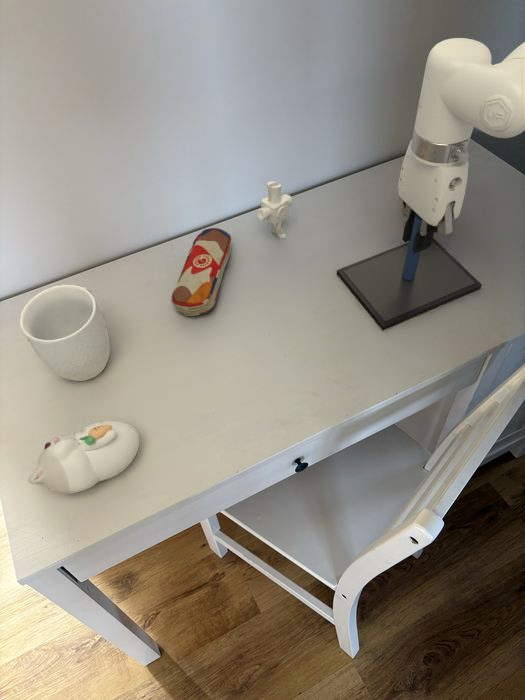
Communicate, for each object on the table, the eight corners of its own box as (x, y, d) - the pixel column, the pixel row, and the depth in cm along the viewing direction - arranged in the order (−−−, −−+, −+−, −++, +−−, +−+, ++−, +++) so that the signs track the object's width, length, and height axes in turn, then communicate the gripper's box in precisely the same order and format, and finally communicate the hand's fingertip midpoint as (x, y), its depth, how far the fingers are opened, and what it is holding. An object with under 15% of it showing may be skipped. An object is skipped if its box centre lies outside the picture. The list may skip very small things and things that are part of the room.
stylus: (409, 269, 95) (423, 210, 84) (417, 277, 93) (432, 218, 83) (399, 274, 94) (412, 214, 84) (406, 282, 93) (420, 222, 83)
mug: (69, 320, 93) (40, 265, 83) (131, 321, 92) (110, 266, 82) (43, 392, 84) (7, 341, 74) (111, 394, 83) (84, 342, 73)
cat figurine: (129, 403, 71) (13, 452, 66) (153, 458, 71) (39, 513, 65) (124, 410, 80) (22, 455, 74) (146, 460, 79) (44, 508, 74)
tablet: (428, 238, 101) (429, 233, 100) (480, 288, 93) (482, 284, 92) (336, 273, 97) (336, 269, 96) (382, 330, 88) (383, 326, 87)
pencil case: (152, 307, 94) (145, 288, 90) (205, 238, 104) (201, 217, 100) (207, 326, 91) (203, 306, 87) (256, 252, 101) (254, 232, 97)
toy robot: (254, 241, 103) (250, 188, 94) (282, 221, 106) (281, 169, 97) (268, 250, 101) (265, 198, 92) (297, 230, 104) (297, 178, 95)
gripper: (501, 163, 70) (465, 266, 84) (427, 107, 79) (406, 209, 93) (454, 180, 68) (426, 282, 83) (384, 121, 77) (370, 223, 92)
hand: (416, 243), depth 88 cm, fingers closed on stylus, 2 cm apart
